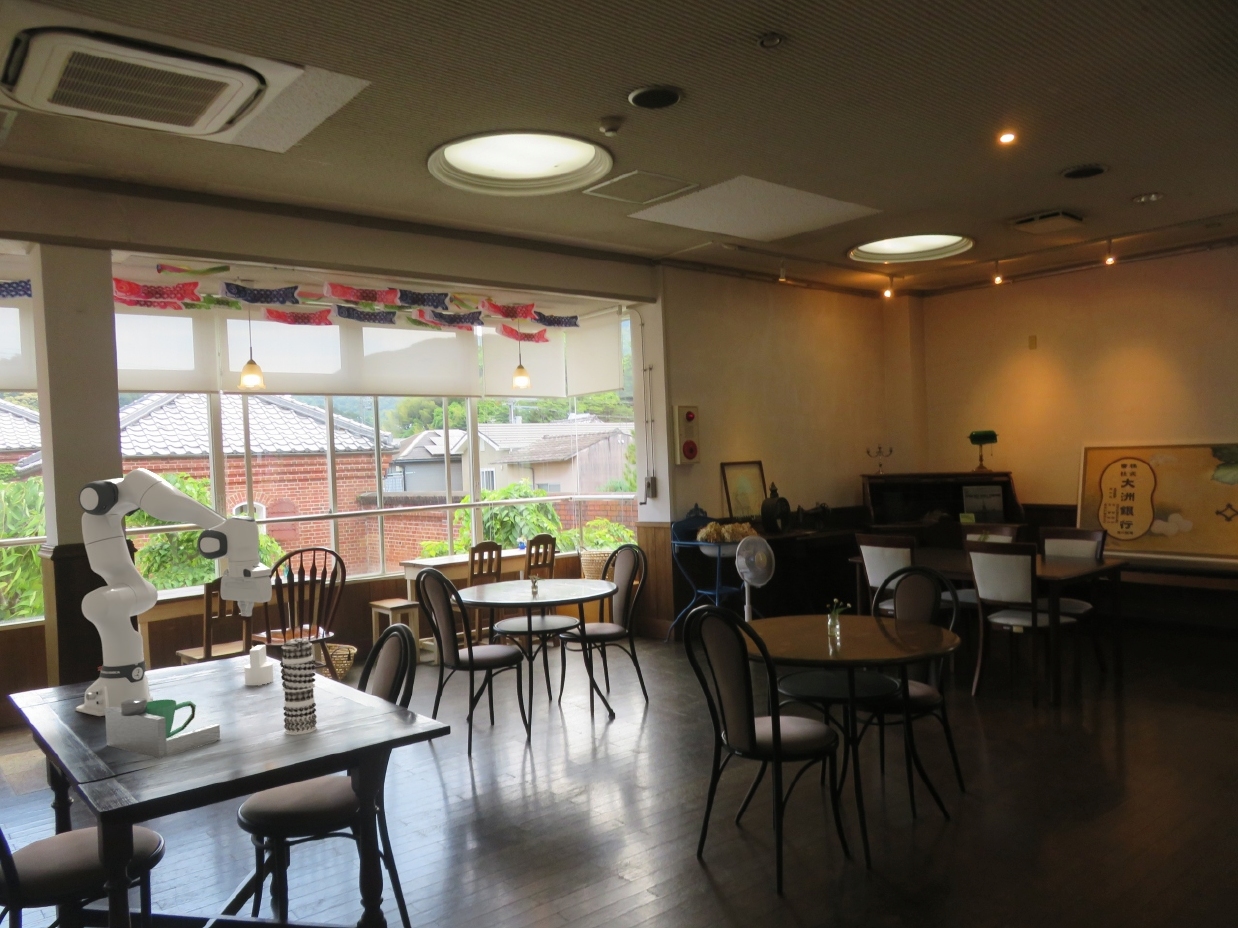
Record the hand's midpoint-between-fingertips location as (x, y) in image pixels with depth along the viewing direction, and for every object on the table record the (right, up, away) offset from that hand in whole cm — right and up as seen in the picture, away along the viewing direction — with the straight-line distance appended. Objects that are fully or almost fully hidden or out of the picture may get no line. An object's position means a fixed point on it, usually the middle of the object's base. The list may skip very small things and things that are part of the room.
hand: (246, 615), depth 270 cm
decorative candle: (+23, -29, -20) cm, 42 cm away
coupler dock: (-12, -30, -27) cm, 42 cm away
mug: (-12, -30, -23) cm, 40 cm away
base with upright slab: (-12, -30, +39) cm, 51 cm away
